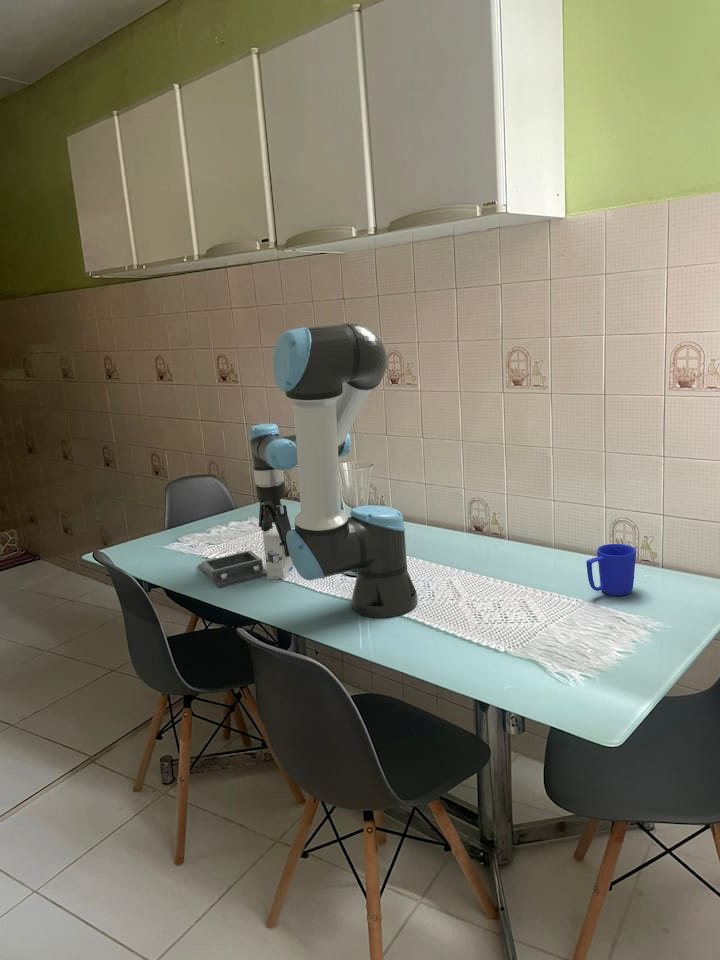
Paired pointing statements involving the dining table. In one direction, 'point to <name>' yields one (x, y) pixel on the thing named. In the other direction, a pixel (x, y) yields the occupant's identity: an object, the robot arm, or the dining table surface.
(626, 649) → the dining table surface
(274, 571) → the ink box
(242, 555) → the tray
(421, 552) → the dining table surface
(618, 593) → the mug
